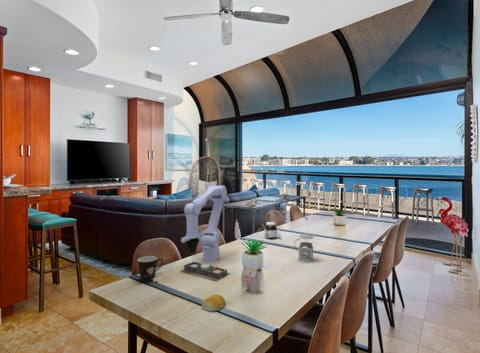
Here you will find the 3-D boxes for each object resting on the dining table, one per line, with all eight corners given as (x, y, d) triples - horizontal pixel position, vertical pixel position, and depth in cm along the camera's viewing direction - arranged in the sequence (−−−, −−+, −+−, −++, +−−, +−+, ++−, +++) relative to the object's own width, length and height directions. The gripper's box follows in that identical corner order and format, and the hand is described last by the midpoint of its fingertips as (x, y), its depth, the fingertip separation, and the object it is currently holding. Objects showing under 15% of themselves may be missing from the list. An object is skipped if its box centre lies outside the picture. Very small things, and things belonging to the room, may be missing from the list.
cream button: (193, 267, 150) (193, 263, 150) (200, 268, 148) (200, 265, 148) (187, 269, 146) (187, 265, 146) (194, 271, 144) (194, 267, 144)
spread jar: (263, 237, 221) (263, 222, 220) (275, 235, 226) (275, 220, 225) (271, 240, 210) (271, 224, 210) (284, 239, 215) (284, 223, 214)
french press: (315, 263, 160) (315, 218, 159) (294, 262, 162) (294, 218, 161) (314, 258, 169) (314, 216, 169) (294, 257, 172) (294, 215, 171)
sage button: (204, 267, 146) (204, 263, 146) (211, 268, 143) (211, 264, 143) (198, 269, 142) (198, 265, 142) (205, 271, 140) (205, 267, 140)
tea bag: (247, 286, 130) (247, 264, 129) (259, 290, 125) (259, 268, 125) (241, 289, 127) (241, 266, 126) (254, 293, 123) (254, 270, 122)
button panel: (196, 267, 154) (195, 260, 154) (231, 276, 142) (231, 268, 141) (179, 274, 144) (179, 266, 144) (216, 284, 132) (216, 276, 131)
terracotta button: (216, 273, 142) (216, 269, 142) (223, 275, 139) (223, 270, 139) (210, 275, 138) (210, 271, 138) (218, 277, 136) (218, 273, 136)
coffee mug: (137, 284, 132) (137, 262, 132) (138, 277, 141) (138, 257, 140) (163, 281, 136) (163, 260, 135) (163, 275, 144) (163, 255, 143)
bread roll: (229, 304, 113) (229, 294, 113) (214, 314, 106) (214, 303, 106) (213, 299, 118) (213, 289, 118) (197, 307, 111) (197, 297, 110)
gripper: (196, 223, 156) (196, 248, 156) (176, 228, 143) (176, 255, 144) (206, 225, 152) (206, 250, 152) (187, 230, 140) (187, 258, 140)
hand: (192, 253), depth 148 cm, fingers closed
